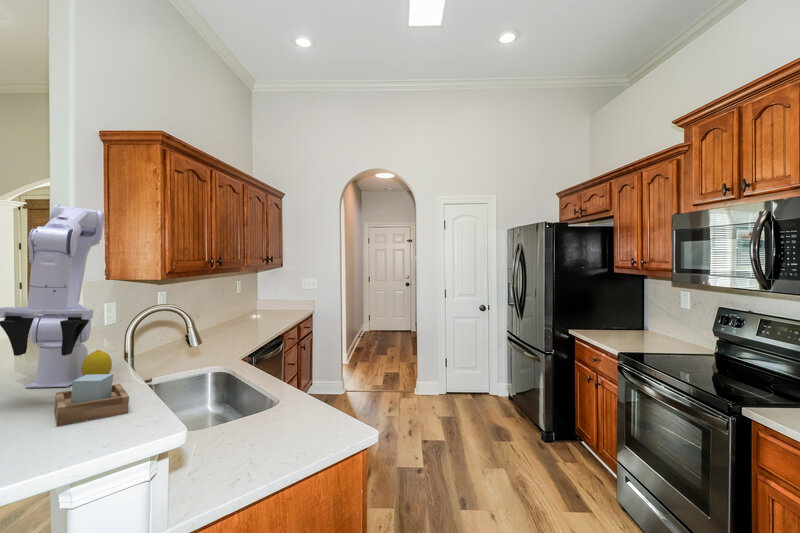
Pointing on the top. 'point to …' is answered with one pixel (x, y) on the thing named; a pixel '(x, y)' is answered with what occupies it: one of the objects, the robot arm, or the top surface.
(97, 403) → the walnut base
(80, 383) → the block
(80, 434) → the top surface
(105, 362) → the lemon
